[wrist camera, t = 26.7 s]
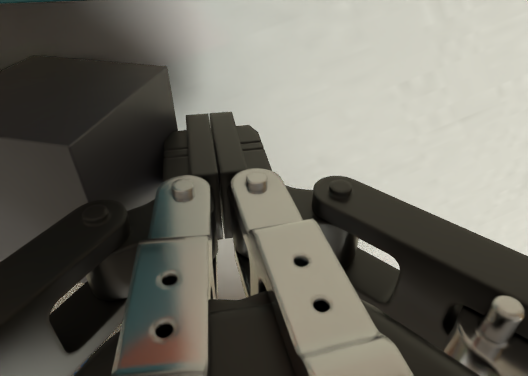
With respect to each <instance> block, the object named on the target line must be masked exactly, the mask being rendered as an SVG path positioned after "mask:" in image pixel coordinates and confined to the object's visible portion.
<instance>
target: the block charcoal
mask: <svg viewBox="0 0 528 376" xmlns="http://www.w3.org/2000/svg"><path fill="white" fill-rule="evenodd" d="M173 131H178V129H177V123H176V117H175V111H174V105H173V99H172V93H171V87H170V81H169V75H168V69H167V66H157V65H144V64H132V63H120V62H107V61H95V60H82V59H70V58H58V57H45V56H31V57H29V58H27V59H25V60H23V61H21V62H19V63H17V64H15V65H13V66H11V67H8V68H6V69H4V70H2V71H0V262H1V261H3V260H4V259H6V258H7V257H8V256H10V255H11V254H13V253H14V252H15V251H17V250H18V249H20V248H21V247H23V246H24V245H25V244H27V243H28V242H30V241H31V240H32V239H34V238H35V237H37V236H38V235H40V234H41V233H42V232H44V231H45V230H47V229H48V228H50V227H51V226H52V225H54V224H55V223H57V222H58V221H59V220H61V219H62V218H64V217H65V216H67V215H68V214H69V213H71V212H72V211H74V210H75V209H77V208H78V207H80V206H82V205H84V204H86V203H89V202H92V201H97V200H114V201H118V202H120V203H121V204H123V205H124V206H125V208H126V210H127V211H128V210H131V209H134V208H137V207H140V206H143V205H145V204H147V203H149V202H151V201H152V200H154V199H155V195H156V191H157V188H158V187H159V186H160V185H161V184H162V183H163V160H164V141H165V140H166V139H167V137H168V136H169V135H170V134H171V133H172V132H173ZM87 281H88V280H87V278H86V276H85V277H84V278H83V279H82V280H81V281H79V282H81V283H86V282H87Z"/></svg>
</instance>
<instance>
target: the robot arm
mask: <svg viewBox="0 0 528 376" xmlns="http://www.w3.org/2000/svg"><path fill="white" fill-rule="evenodd" d="M186 125H187V130H184V131H173V132H172V133H171V134H170V135H169V136H168V137H167V139H166V140H165V141H164V160H163V183H162V184H161V185H160V186H159V187H158V188H157V191H156V195H155V199H154V200H152V201H151V202H149V203H147V204H145V205H143V206H140V207H137V208H134V209H131V210H128V211H127V210H126V208H125V206H124V205H123V204H121V203H120V202H118V201H114V200H97V201H92V202H89V203H86V204H84V205H82V206H80V207H78V208H77V209H75V210H74V211H72V212H71V213H69V214H68V215H67V216H65V217H64V218H62V219H61V220H59V221H58V222H57V223H55V224H54V225H52V226H51V227H50V228H48V229H47V230H45V231H44V232H42V233H41V234H40V235H38V236H37V237H35V238H34V239H32V240H31V241H30V242H28V243H27V244H25V245H24V246H23V247H21V248H20V249H18V250H17V251H15V252H14V253H13V254H11V255H10V256H8V257H7V258H6V259H4V260H3V261H1V262H0V376H72V375H73V374H74V373H75V372H76V371H77V370H78V369H79V368H80V367H81V366H82V365H83V364H84V362H85V361H86V360H87V359H88V358H89V357H90V356H91V355H92V354H93V353H94V352H95V353H94V354H93V355H92V356H91V357H90V358H89V359H88V360H87V361H86V363H85V364H84V365H83V366H82V367H81V368H80V369H79V371H78V372H77V373H76V374H75V375H74V376H528V256H526V255H524V254H521V253H519V252H517V251H514V250H512V249H510V248H508V247H505V246H503V245H501V244H499V243H496V242H494V241H492V240H490V239H487V238H485V237H483V236H481V235H478V234H476V233H474V232H471V231H469V230H467V229H465V228H462V227H460V226H458V225H456V224H453V223H451V222H449V221H447V220H444V219H442V218H440V217H438V216H435V215H433V214H431V213H428V212H426V211H424V210H422V209H419V208H417V207H415V206H413V205H410V204H408V203H406V202H404V201H401V200H399V199H397V198H395V197H392V196H390V195H388V194H385V193H383V192H381V191H379V190H376V189H374V188H372V187H370V186H367V185H365V184H363V183H361V182H358V181H356V180H354V179H351V178H348V177H343V176H330V177H325V178H323V179H320V180H319V181H318V182H316V184H315V185H314V188H313V190H304V189H296V188H292V187H289V186H286V185H285V184H284V182H283V181H282V179H281V177H280V176H279V175H278V174H276V173H275V172H273V171H272V170H271V167H270V164H269V161H268V159H267V156H266V153H265V150H264V148H263V145H262V142H261V139H260V137H259V134H258V132H257V131H256V130H255V129H253V128H252V127H251V126H249V125H243V126H236V125H235V122H234V118H233V114H232V112H222V113H210V122H209V116H208V114H197V115H186ZM210 126H211V128H210ZM221 215H222V218H221ZM222 221H223V228H224V234H225V239H226V238H233V241H234V251H235V261H236V264H237V268H238V271H239V275H240V278H241V282H242V285H243V289H244V293H245V296H246V298H245V299H242V300H221V299H218V284H217V256H216V255H217V253H218V241H217V240H219V239H223V231H222ZM358 239H361V240H363V241H365V242H367V243H369V244H371V245H373V246H374V247H376V248H378V249H380V250H382V251H384V252H386V253H388V254H389V255H391V256H392V257H394V258H395V260H396V261H397V262H398V264H399V266H400V270H398V269H396V268H394V267H392V266H391V265H389V264H387V263H385V262H383V261H381V260H380V259H378V258H376V257H374V256H372V255H370V254H368V253H367V252H365V251H363V250H361V249H359V248H357V244H358ZM85 276H86V278H87V280H88V281H87V282H86V283H85V284H84V285H83V286H82V287H80V288H79V289H78V290H77V291H76V292H75V293H74V294H73V295H72V296H70V297H69V298H68V299H67V300H66V301H65V302H64V303H63V304H61V305H60V306H59V307H58V308H57V309H56V310H55V311H54V312H52V313H51V314H50V312H51V310H52V308H53V306H54V305H55V303H56V302H57V301H58V300H59V299H60V298H61V297H62V296H63V295H65V294H66V293H67V292H68V291H69V290H70V289H71V288H73V287H74V286H75V285H76V284H77V283H78V282H79V281H81V280H82V279H83V278H84V277H85ZM121 323H122V325H121V330H120V332H118V333H116V334H115V335H114V336H113V337H111V338H110V339H109V340H107V341H106V342H105V343H104V344H103V345H102V346H101V347H99V346H100V345H101V344H102V343H103V342H104V341H105V340H106V339H107V338H108V337H109V336H110V335H111V333H112V332H113V331H114V330H115V329H116V328H117V327H118V326H119V325H120V324H121ZM98 347H99V348H98Z"/></svg>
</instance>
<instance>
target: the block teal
mask: <svg viewBox="0 0 528 376" xmlns="http://www.w3.org/2000/svg"><path fill="white" fill-rule="evenodd" d="M57 1H85V0H0V4H2V3H29V2H57Z"/></svg>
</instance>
